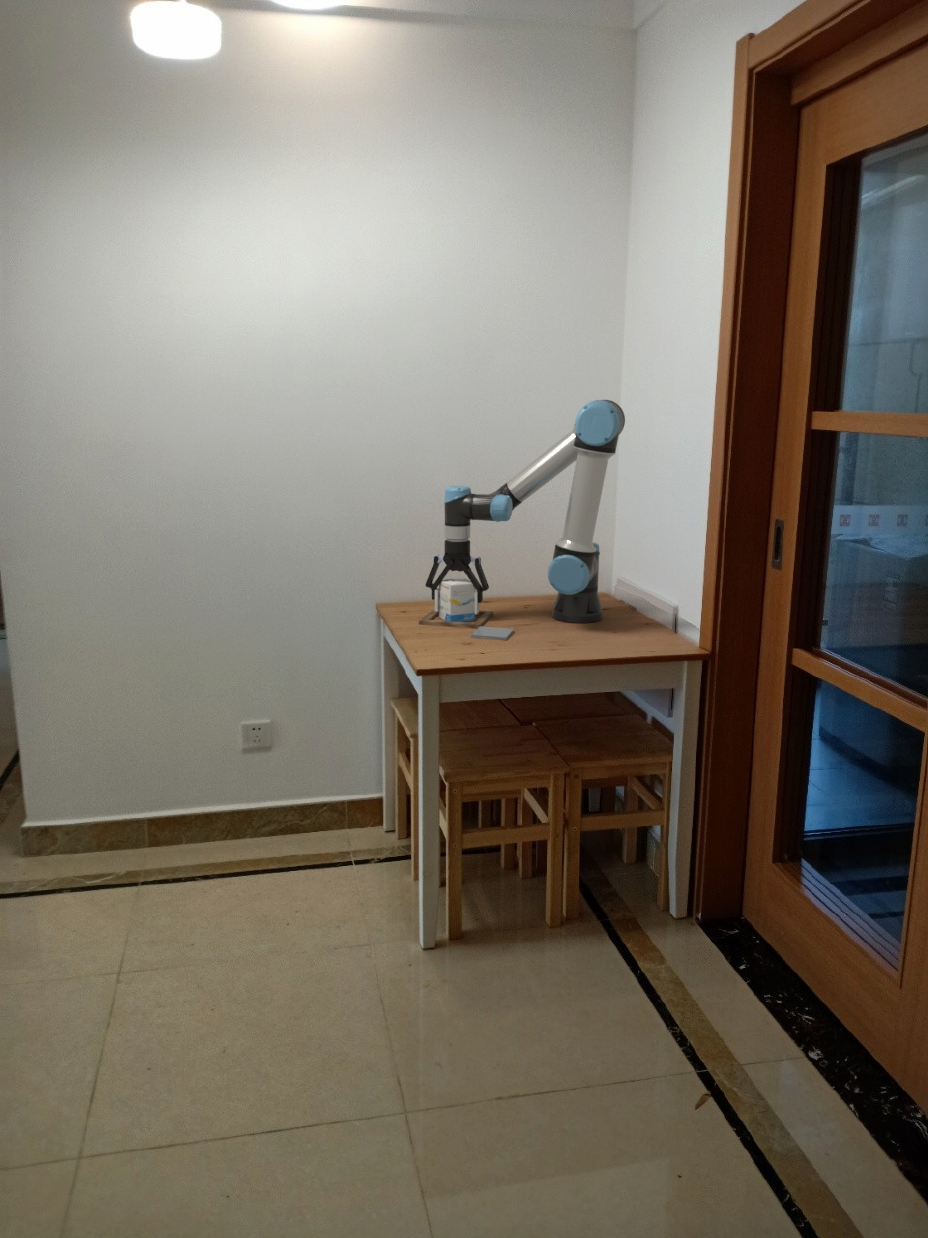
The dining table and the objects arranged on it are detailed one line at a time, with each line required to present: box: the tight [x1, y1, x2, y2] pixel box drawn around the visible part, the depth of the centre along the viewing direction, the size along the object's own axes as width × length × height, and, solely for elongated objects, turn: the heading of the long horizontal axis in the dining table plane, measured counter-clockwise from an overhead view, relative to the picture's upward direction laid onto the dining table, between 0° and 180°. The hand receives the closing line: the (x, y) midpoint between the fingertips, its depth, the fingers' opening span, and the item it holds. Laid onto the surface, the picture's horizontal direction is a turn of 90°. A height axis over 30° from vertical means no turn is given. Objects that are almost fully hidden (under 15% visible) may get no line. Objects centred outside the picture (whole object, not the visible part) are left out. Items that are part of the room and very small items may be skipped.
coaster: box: [470, 625, 515, 641], centre depth 284 cm, size 10×10×1 cm
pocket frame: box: [418, 608, 495, 629], centre depth 302 cm, size 18×18×1 cm
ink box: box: [438, 577, 477, 623], centre depth 300 cm, size 9×8×12 cm
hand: (456, 612), depth 301 cm, fingers closed on ink box, 11 cm apart
